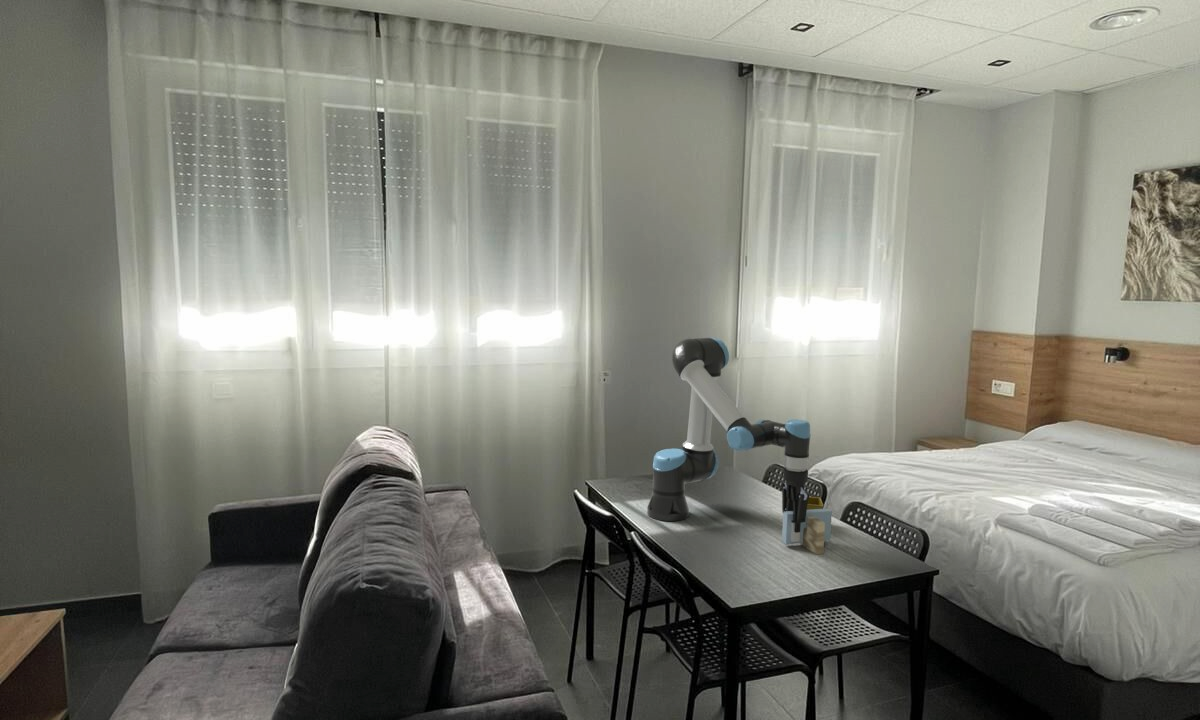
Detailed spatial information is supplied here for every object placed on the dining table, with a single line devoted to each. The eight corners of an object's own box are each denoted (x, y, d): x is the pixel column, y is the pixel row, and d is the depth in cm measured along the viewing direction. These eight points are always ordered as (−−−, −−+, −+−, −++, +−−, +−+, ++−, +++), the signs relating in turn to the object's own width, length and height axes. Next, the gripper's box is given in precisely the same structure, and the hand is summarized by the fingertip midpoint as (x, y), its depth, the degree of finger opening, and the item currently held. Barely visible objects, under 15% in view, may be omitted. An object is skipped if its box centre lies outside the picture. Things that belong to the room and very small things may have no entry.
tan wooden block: (823, 554, 205) (825, 523, 204) (816, 554, 204) (817, 523, 203) (796, 535, 220) (797, 506, 219) (789, 535, 219) (791, 507, 218)
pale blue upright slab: (785, 544, 209) (787, 514, 208) (781, 541, 211) (783, 511, 210) (830, 540, 213) (831, 510, 212) (825, 537, 215) (827, 508, 214)
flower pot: (822, 530, 225) (823, 505, 224) (796, 528, 227) (797, 503, 226) (819, 521, 234) (820, 497, 233) (793, 519, 235) (795, 495, 235)
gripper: (820, 474, 202) (816, 547, 204) (793, 461, 217) (790, 529, 219) (798, 475, 200) (794, 549, 202) (773, 462, 215) (770, 531, 217)
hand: (792, 539), depth 211 cm, fingers closed on pale blue upright slab, 2 cm apart
